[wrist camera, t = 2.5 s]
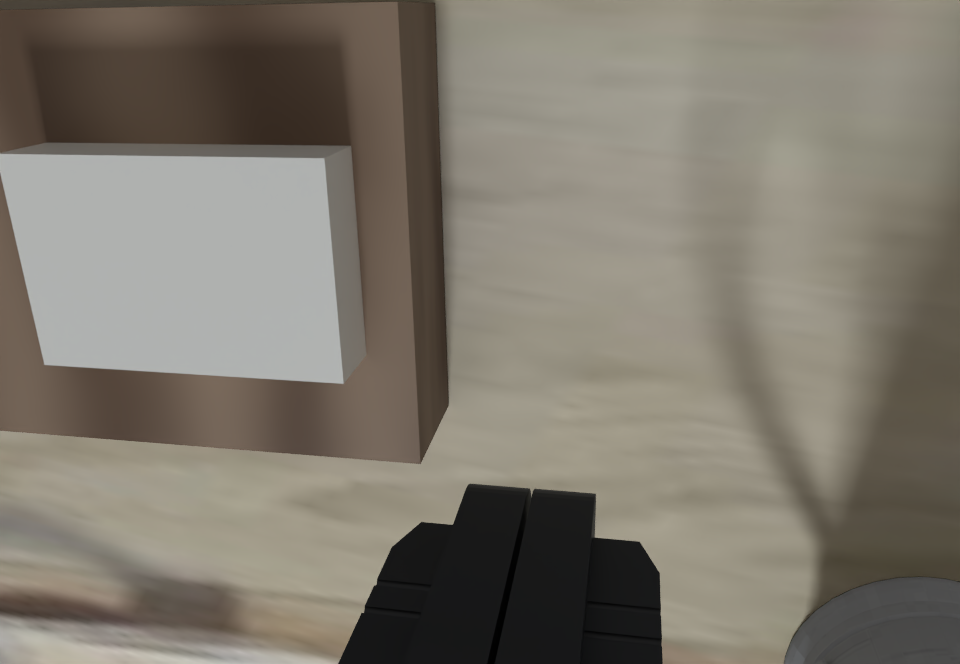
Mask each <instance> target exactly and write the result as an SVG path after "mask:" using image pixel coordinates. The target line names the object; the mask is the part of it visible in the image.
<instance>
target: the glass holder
mask: <svg viewBox="0 0 960 664" xmlns="http://www.w3.org/2000/svg"><path fill="white" fill-rule="evenodd" d="M784 664H960V582H957V581H953V580H948V579H940V578H929V577H909V578H895V579H889V580H884V581H878V582H873V583H870V584H867V585H864V586H861V587H858V588H855V589H852V590H850V591H848V592H846V593H844V594H842V595H840V596H838V597H836V598H834V599H832V600H830V601H829V602H827V603H826V604H825V605H823V606H822V607H820V608H819V609H818V610H816V611H815V612H814V613H813V614H812V615H811V616H810V617H809V618H808V619H807V620H806V621H805V622H804V623H803V624H802V625H801V627H800V628H799V630H798V631H797V633H796V634H795V636H794V637H793V639H792V640H791V643H790V645H789V648H788V651H787V653H786V656H785V662H784Z"/></svg>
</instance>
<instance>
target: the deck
mask: <svg viewBox="0 0 960 664" xmlns="http://www.w3.org/2000/svg"><path fill="white" fill-rule="evenodd" d="M43 143H136V144H230V145H324V146H351V152H352V165H353V179H354V193H355V206H356V220H357V234H358V247H359V261H360V275H361V289H362V302H363V316H364V330H365V343H366V356H365V357H364V359H363V360H362V361H361V362H360V364H359V365H358V366H357V368H356V369H355V370H354V371H353V373H352V374H351V375H350V376H349V378H348V379H347V380H346V381H345V383H344V384H338V383H322V382H306V381H291V380H275V379H259V378H243V377H227V376H211V375H196V374H180V373H164V372H148V371H132V370H116V369H101V368H85V367H69V366H53V365H44V361H43V357H42V352H41V348H40V344H39V339H38V335H37V331H36V326H35V322H34V317H33V313H32V309H31V304H30V300H29V296H28V291H27V287H26V283H25V278H24V274H23V270H22V265H21V261H20V257H19V252H18V248H17V244H16V239H15V235H14V231H13V226H12V222H11V218H10V213H9V209H8V205H7V200H6V196H5V192H4V187H3V183H2V179H1V174H0V431H13V432H26V433H38V434H51V435H63V436H76V437H89V438H101V439H114V440H126V441H139V442H151V443H164V444H177V445H189V446H202V447H214V448H227V449H240V450H252V451H265V452H277V453H290V454H302V455H315V456H328V457H340V458H353V459H365V460H378V461H391V462H403V463H416V464H421V462H422V460H423V457H424V455H425V453H426V451H427V449H428V447H429V445H430V443H431V441H432V439H433V437H434V435H435V433H436V430H437V428H438V426H439V424H440V422H441V420H442V418H443V416H444V414H445V412H446V410H447V408H448V376H447V347H446V317H445V288H444V258H443V229H442V200H441V170H440V141H439V112H438V82H437V53H436V23H435V3H418V2H356V3H308V4H260V5H212V6H164V7H116V8H68V9H21V10H0V153H2V152H6V151H11V150H15V149H20V148H24V147H29V146H34V145H38V144H43Z"/></svg>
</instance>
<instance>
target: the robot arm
mask: <svg viewBox="0 0 960 664" xmlns="http://www.w3.org/2000/svg"><path fill="white" fill-rule="evenodd" d="M595 510H596V494H592V493H579V492H567V491H555V490H543V489H534V491H533V494H532V498H531V491H530V489H528V488H516V487H503V486H491V485H479V484H469V485H468V486H467V488H466V491H465V493H464V496H463V499H462V502H461V504H460V507H459V510H458V513H457V515H456V518H455V521H454V524H453V525H447V524H436V523H425V522H421V523H420V524H419V525H417V526H416V527H415V528H414V529H413V530H412V531H410V532H409V533H408V534H407V535H406V536H405V537H403V538H402V539H401V540H400V541H399V542H398V543H396V544H395V545H394V546H393V547H392V548H391V550H390V553H389V555H388V557H387V559H386V561H385V563H384V566H383V568H382V570H381V572H380V574H379V576H378V579H377V585H376V586H374V587H373V590H372V592H371V594H370V596H369V598H368V600H367V603H366V605H365V611H364V613H361V616H360V618H359V620H358V622H357V624H356V626H355V629H354V631H353V633H352V635H351V637H350V640H349V642H348V644H347V646H346V648H345V650H344V653H343V655H342V657H341V659H340V661H339V663H338V664H662V647H661V642H662V634H661V616H660V612H661V603H660V573H659V572H658V570H657V568H656V567H655V565H654V564H653V562H652V561H651V559H650V557H649V556H648V554H647V553H646V551H645V550H644V548H643V546H642V545H641V543H640V542H636V541H625V540H614V539H603V538H595Z"/></svg>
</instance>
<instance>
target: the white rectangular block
mask: <svg viewBox="0 0 960 664" xmlns="http://www.w3.org/2000/svg"><path fill="white" fill-rule="evenodd" d="M0 174H1V179H2V183H3V187H4V192H5V196H6V200H7V205H8V209H9V213H10V218H11V222H12V226H13V231H14V235H15V239H16V244H17V248H18V252H19V257H20V261H21V265H22V270H23V274H24V278H25V283H26V287H27V291H28V296H29V300H30V304H31V309H32V313H33V317H34V322H35V326H36V331H37V335H38V339H39V344H40V348H41V352H42V357H43V361H44V365H53V366H69V367H85V368H101V369H116V370H132V371H148V372H164V373H180V374H196V375H211V376H227V377H243V378H259V379H275V380H291V381H306V382H322V383H338V384H344V383H345V381H346V380H347V379H348V378H349V376H350V375H351V374H352V373H353V371H354V370H355V369H356V368H357V366H358V365H359V364H360V362H361V361H362V360H363V359H364V357H365V356H366V343H365V330H364V316H363V302H362V289H361V275H360V261H359V247H358V234H357V220H356V206H355V193H354V179H353V165H352V152H351V146H324V145H230V144H136V143H43V144H38V145H34V146H29V147H24V148H20V149H15V150H11V151H6V152H2V153H0Z"/></svg>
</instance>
